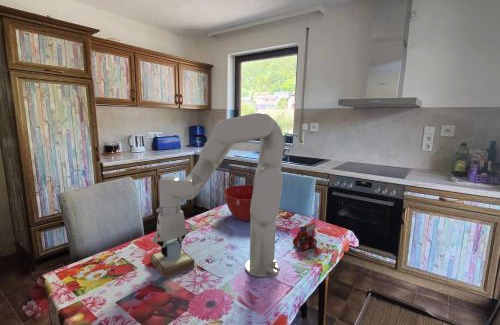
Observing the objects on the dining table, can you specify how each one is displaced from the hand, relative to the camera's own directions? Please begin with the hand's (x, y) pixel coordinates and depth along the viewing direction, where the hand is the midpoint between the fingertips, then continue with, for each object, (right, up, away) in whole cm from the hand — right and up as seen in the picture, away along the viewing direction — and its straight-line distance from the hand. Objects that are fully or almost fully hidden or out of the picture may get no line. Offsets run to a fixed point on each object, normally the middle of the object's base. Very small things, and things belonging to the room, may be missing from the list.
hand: (171, 252), depth 103 cm
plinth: (0, -5, +1) cm, 5 cm away
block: (0, -2, 0) cm, 2 cm away
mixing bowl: (+29, +3, +53) cm, 60 cm away
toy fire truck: (+56, -4, +18) cm, 59 cm away
